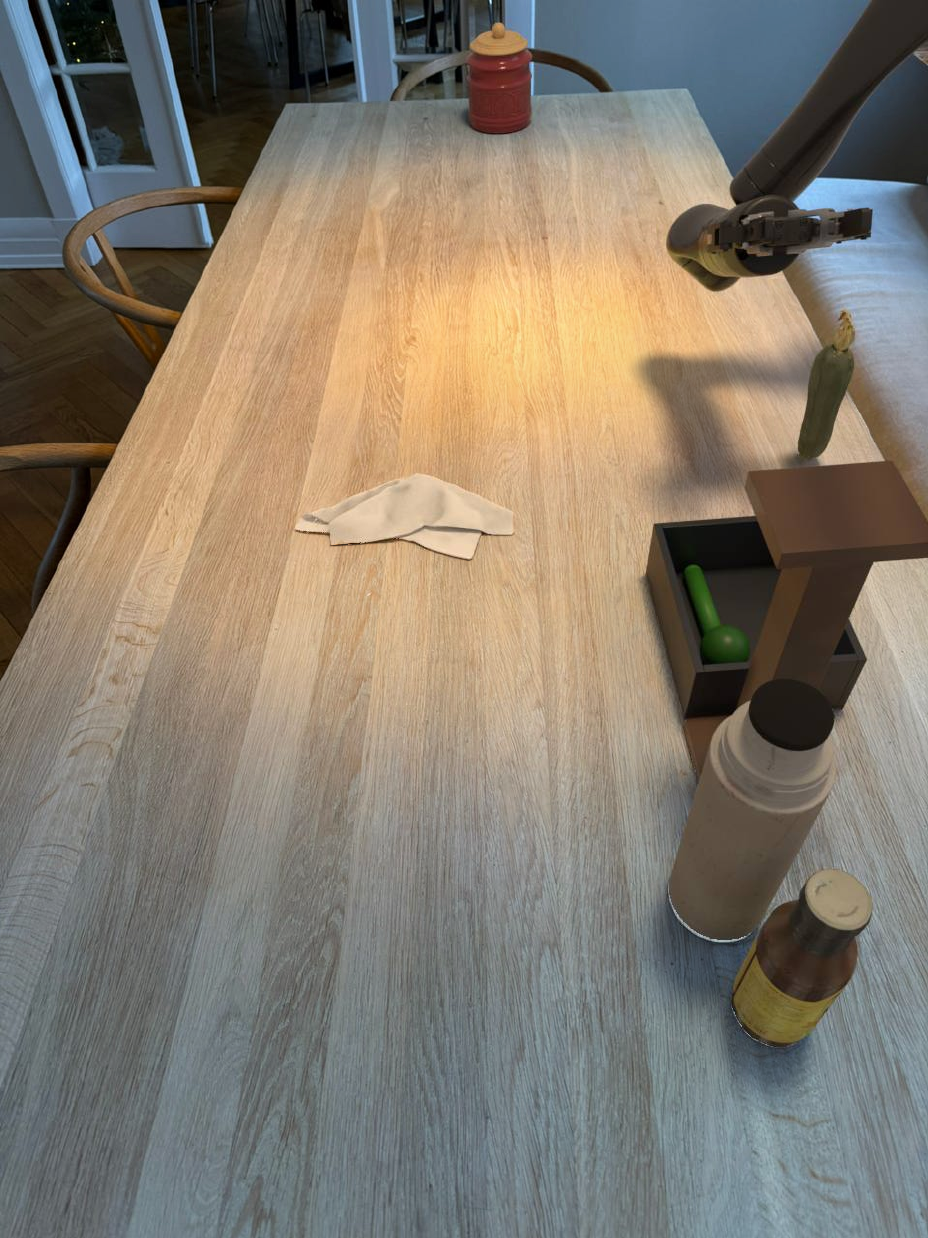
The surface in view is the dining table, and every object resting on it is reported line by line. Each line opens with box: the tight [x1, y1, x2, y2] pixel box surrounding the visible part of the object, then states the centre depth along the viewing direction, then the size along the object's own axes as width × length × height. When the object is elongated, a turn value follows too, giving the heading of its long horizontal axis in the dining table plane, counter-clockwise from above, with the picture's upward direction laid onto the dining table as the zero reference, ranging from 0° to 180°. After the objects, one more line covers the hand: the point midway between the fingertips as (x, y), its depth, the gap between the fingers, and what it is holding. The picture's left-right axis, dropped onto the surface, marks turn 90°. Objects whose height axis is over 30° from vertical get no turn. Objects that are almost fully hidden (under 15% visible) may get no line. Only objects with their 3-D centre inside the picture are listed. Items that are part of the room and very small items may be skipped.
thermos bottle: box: [668, 679, 837, 940], centre depth 63 cm, size 8×8×28 cm
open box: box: [645, 515, 868, 721], centre depth 89 cm, size 16×20×8 cm
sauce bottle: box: [730, 868, 874, 1048], centre depth 61 cm, size 6×6×20 cm
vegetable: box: [797, 309, 856, 461], centre depth 101 cm, size 4×4×20 cm
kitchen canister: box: [465, 22, 533, 134], centre depth 175 cm, size 13×13×18 cm
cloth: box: [294, 472, 515, 561], centre depth 106 cm, size 26×14×2 cm, turn 77°
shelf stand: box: [683, 460, 928, 783], centre depth 70 cm, size 10×8×32 cm
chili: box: [684, 565, 750, 665], centre depth 90 cm, size 5×17×5 cm, turn 5°
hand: (817, 224), depth 77 cm, fingers open, 8 cm apart
